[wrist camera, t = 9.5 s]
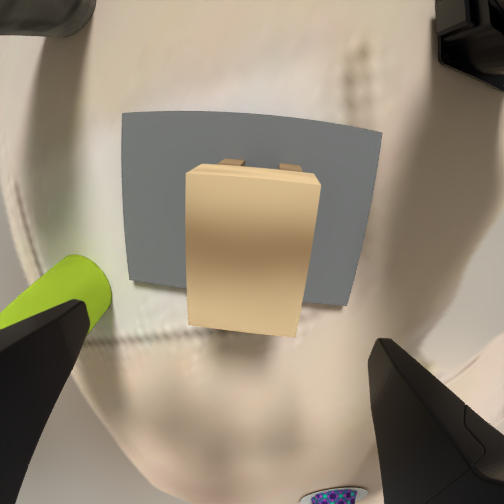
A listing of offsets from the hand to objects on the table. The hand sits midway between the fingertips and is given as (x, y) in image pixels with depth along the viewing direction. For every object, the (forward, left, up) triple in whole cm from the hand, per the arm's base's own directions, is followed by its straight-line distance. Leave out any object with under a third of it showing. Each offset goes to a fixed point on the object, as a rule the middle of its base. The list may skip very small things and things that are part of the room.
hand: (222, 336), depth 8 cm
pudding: (-18, +48, -13) cm, 53 cm away
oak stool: (0, 0, -11) cm, 11 cm away
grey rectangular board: (+1, 0, -12) cm, 12 cm away
